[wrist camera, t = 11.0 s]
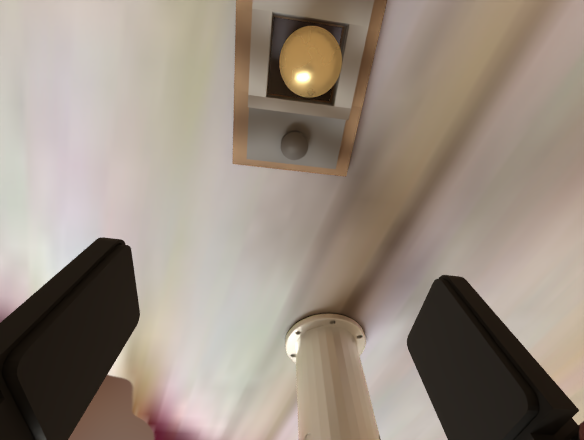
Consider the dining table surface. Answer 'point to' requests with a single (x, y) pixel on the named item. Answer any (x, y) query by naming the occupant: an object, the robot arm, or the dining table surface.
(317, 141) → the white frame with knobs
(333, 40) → the pin
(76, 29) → the dining table surface
